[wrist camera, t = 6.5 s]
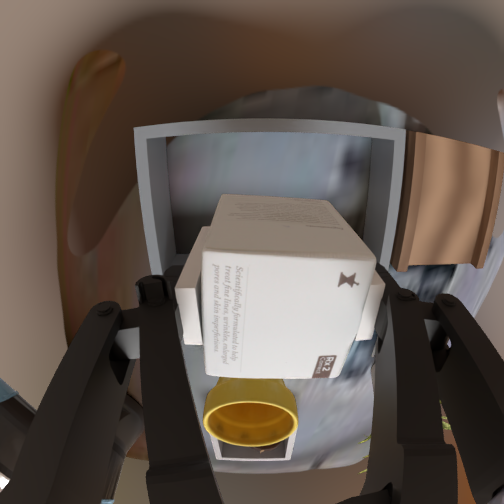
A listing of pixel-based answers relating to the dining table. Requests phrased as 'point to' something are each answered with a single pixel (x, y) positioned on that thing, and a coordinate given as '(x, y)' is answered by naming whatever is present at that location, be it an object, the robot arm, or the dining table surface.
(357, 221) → the dining table surface
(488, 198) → the tray
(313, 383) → the dining table surface
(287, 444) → the dish
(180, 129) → the grey storage bin
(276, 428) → the plant pot
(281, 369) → the skincare box
